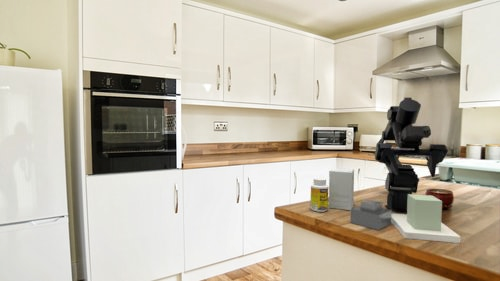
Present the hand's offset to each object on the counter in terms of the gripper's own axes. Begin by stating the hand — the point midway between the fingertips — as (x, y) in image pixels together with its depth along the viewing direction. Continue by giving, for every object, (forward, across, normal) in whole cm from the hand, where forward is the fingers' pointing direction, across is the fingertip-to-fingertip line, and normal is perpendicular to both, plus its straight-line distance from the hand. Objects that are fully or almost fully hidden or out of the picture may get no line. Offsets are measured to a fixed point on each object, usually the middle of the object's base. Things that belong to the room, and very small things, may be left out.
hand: (415, 175), depth 82 cm
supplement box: (+1, -19, +19) cm, 26 cm away
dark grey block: (+12, -12, +7) cm, 18 cm away
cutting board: (+13, 0, +6) cm, 15 cm away
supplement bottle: (+5, -26, +14) cm, 30 cm away
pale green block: (+14, 0, +4) cm, 14 cm away
